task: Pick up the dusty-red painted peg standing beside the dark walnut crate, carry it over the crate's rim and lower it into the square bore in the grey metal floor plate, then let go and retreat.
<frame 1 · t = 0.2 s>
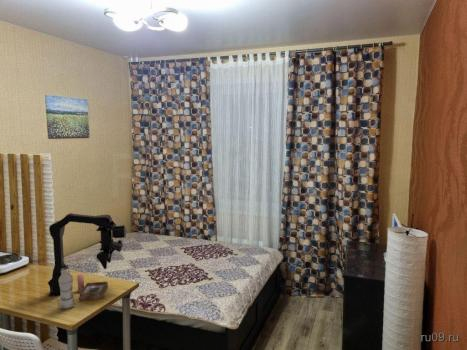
hand: (107, 265, 186), 14 cm above the table, fingers open, 9 cm apart
crate: (94, 294, 183), on the table
peg: (81, 290, 188), on the table
plastic bottle: (67, 307, 169), on the table
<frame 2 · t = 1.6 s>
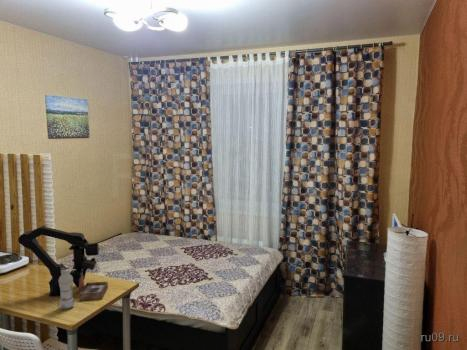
hand: (80, 283, 187), 4 cm above the table, fingers open, 9 cm apart
nothing on the table moved.
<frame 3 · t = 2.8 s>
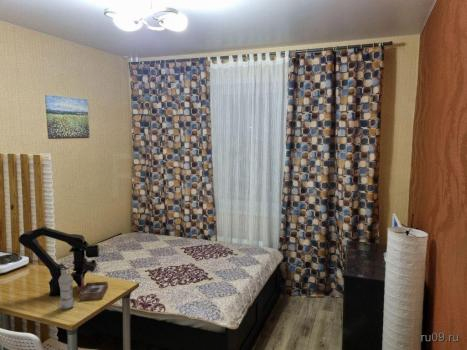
hand: (80, 285, 187), 3 cm above the table, fingers closed on peg, 3 cm apart
peg: (81, 290, 188), on the table, touching gripper
everything else where it was.
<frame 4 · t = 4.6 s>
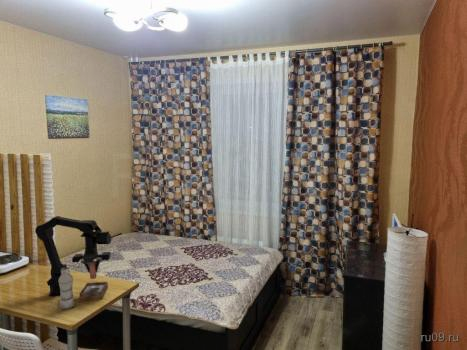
hand: (93, 272, 182), 12 cm above the table, fingers closed on peg, 3 cm apart
peg: (93, 277, 182), point 9 cm above the table, touching gripper
everything else where it was.
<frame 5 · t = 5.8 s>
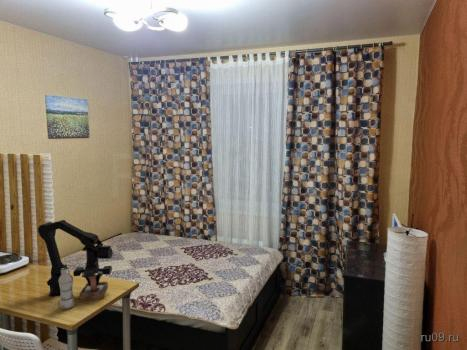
hand: (93, 286, 183), 5 cm above the table, fingers closed on peg, 3 cm apart
peg: (94, 291, 183), point 2 cm above the table, touching gripper
everything else where it was.
when the fingers open (4 cm above the table, at t = 6.6 s): peg drops 1 cm, resting in crate.
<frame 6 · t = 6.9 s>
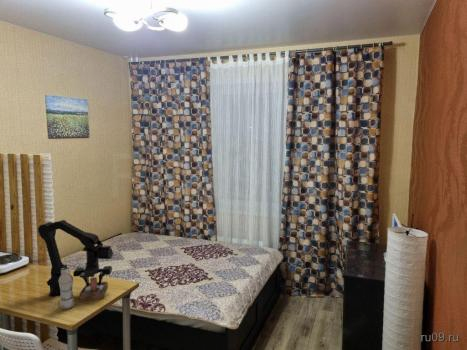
hand: (94, 286, 183), 4 cm above the table, fingers open, 5 cm apart
peg: (94, 294, 183), resting in crate
everything else where it was.
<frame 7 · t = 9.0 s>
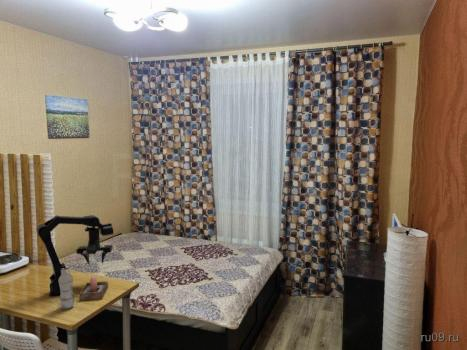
hand: (95, 263, 195), 12 cm above the table, fingers open, 7 cm apart
nothing on the table moved.
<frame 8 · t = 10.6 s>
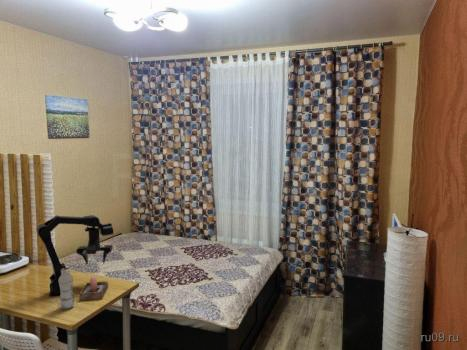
hand: (95, 263, 195), 12 cm above the table, fingers open, 9 cm apart
nothing on the table moved.
at the end: peg 0.1 cm off-centre on the crate, point 0.0 cm above the crate's base; peg tilted 0°; the gripper is holding nothing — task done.
